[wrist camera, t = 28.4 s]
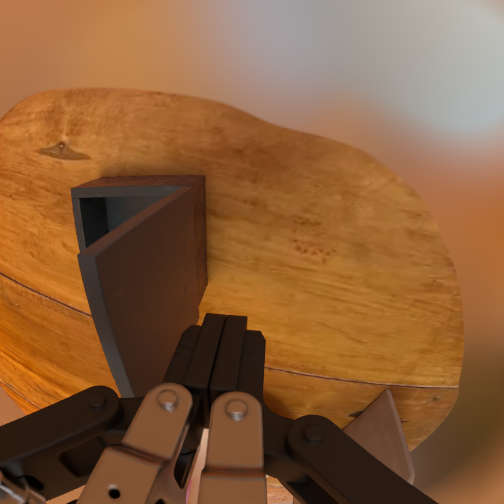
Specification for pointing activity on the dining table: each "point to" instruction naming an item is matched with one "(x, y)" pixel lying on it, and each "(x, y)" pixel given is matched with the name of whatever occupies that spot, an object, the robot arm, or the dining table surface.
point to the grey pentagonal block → (383, 436)
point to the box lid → (144, 290)
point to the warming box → (136, 209)
